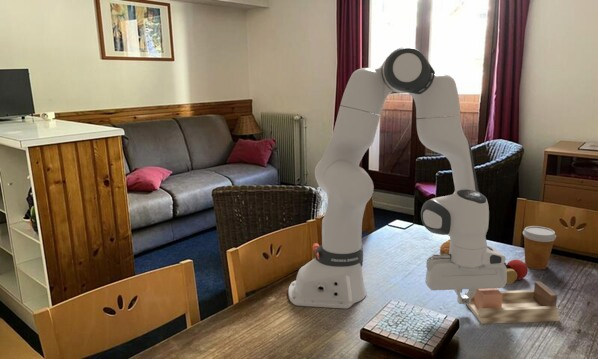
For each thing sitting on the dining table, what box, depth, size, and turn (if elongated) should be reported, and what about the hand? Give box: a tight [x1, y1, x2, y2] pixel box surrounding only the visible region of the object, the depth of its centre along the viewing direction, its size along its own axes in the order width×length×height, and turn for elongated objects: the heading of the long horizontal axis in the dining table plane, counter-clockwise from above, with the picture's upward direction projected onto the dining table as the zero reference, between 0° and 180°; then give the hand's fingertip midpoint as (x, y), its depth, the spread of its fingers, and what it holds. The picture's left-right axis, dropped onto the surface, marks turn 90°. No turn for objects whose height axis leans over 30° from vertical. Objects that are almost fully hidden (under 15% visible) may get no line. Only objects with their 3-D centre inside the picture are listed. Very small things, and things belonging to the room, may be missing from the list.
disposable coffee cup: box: [522, 225, 557, 270], centre depth 147 cm, size 10×10×12 cm
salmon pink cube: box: [474, 288, 503, 309], centre depth 120 cm, size 5×5×5 cm
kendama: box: [504, 259, 529, 285], centre depth 138 cm, size 8×6×18 cm
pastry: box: [439, 239, 450, 255], centre depth 160 cm, size 9×7×4 cm
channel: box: [464, 281, 561, 325], centre depth 120 cm, size 20×12×6 cm, turn 92°
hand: (463, 302), depth 120 cm, fingers closed
